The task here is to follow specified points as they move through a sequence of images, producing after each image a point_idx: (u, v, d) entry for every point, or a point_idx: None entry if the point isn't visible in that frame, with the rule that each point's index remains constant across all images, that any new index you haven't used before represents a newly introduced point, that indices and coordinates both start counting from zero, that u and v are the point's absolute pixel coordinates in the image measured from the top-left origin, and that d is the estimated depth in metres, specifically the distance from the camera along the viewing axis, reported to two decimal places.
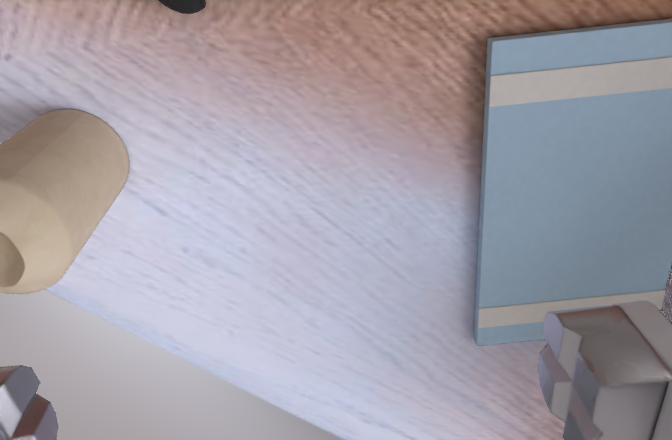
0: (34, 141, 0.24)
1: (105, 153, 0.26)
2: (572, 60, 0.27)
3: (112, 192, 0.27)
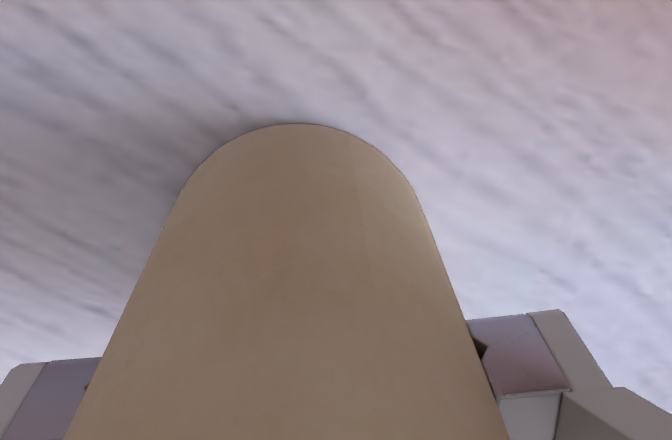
0: (322, 249, 0.07)
1: (437, 248, 0.09)
2: None
3: None
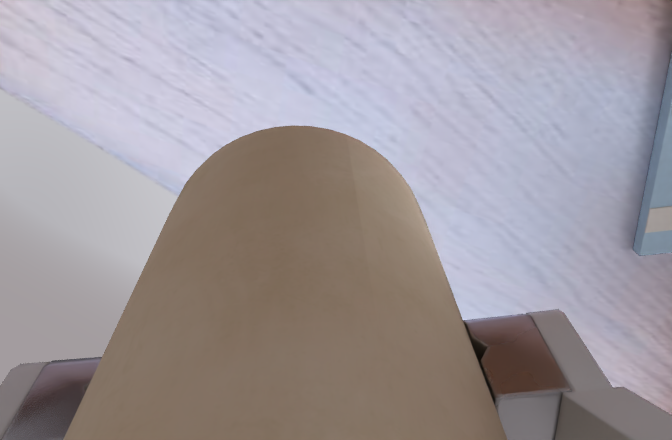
0: (322, 251, 0.07)
1: (436, 250, 0.09)
2: None
3: None
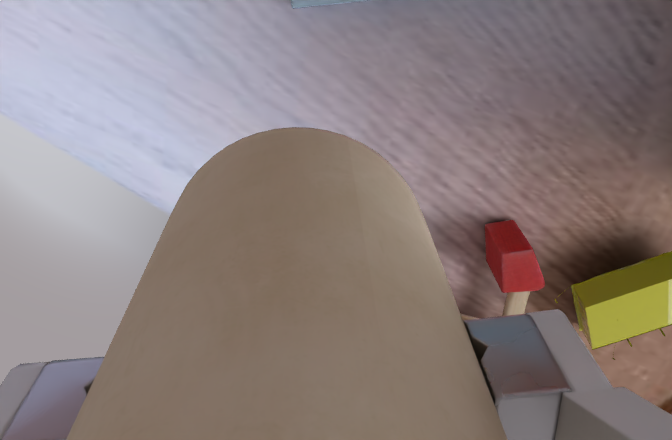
0: (322, 255, 0.07)
1: (436, 253, 0.09)
2: None
3: None
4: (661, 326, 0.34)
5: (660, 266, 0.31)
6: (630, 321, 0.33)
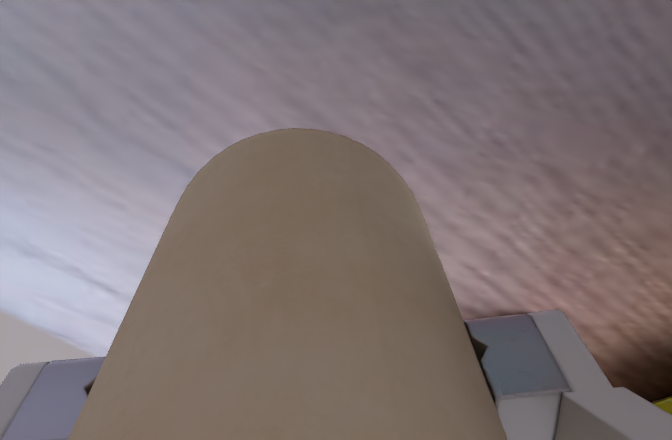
0: (323, 256, 0.07)
1: (437, 253, 0.09)
2: None
3: None
4: None
5: None
6: None
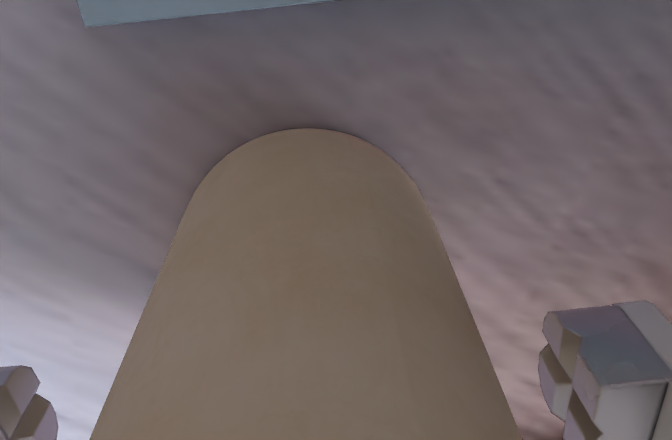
0: (339, 251, 0.07)
1: (445, 250, 0.10)
2: None
3: None
4: None
5: None
6: None
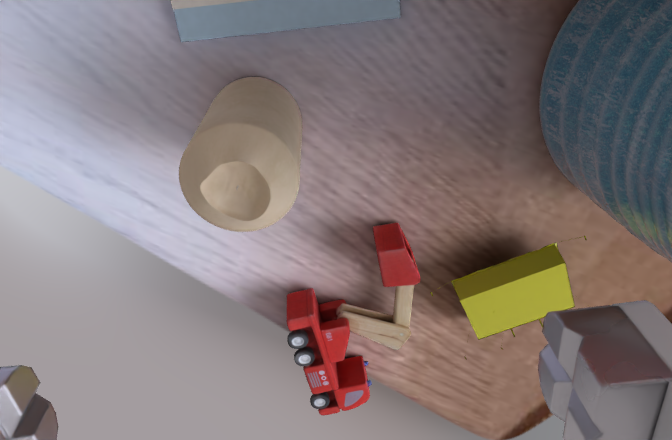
0: (252, 98, 0.27)
1: (295, 113, 0.30)
2: None
3: None
4: (537, 318, 0.38)
5: (525, 263, 0.35)
6: (506, 312, 0.37)
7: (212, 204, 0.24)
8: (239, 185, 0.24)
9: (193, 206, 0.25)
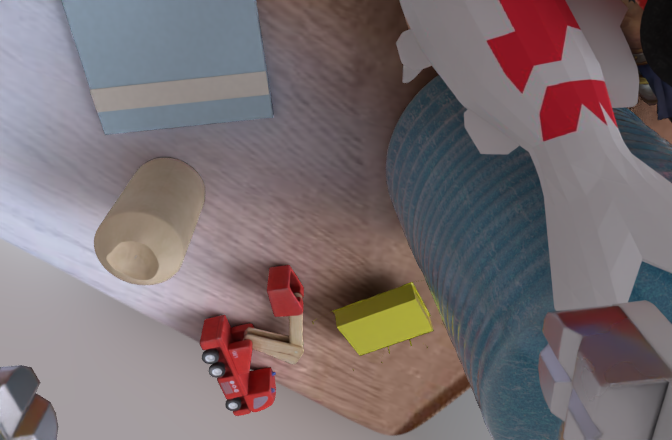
0: (154, 184, 0.36)
1: (194, 189, 0.39)
2: None
3: (198, 216, 0.39)
4: (404, 339, 0.47)
5: (388, 298, 0.44)
6: (377, 335, 0.46)
7: (117, 269, 0.33)
8: (137, 254, 0.33)
9: (106, 268, 0.34)
